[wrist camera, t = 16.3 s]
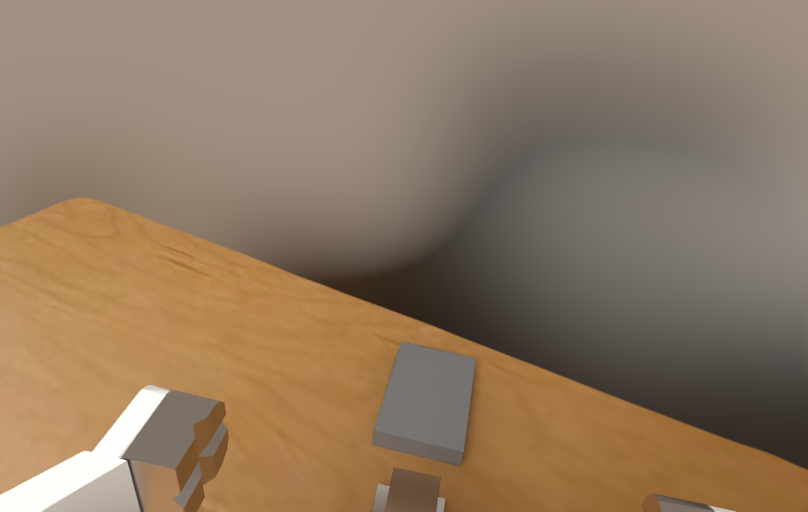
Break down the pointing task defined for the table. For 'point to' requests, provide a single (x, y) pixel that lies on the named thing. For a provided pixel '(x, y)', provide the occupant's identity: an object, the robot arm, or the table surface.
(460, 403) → the tile
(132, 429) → the robot arm
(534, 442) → the table surface
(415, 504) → the brown and white bookend
